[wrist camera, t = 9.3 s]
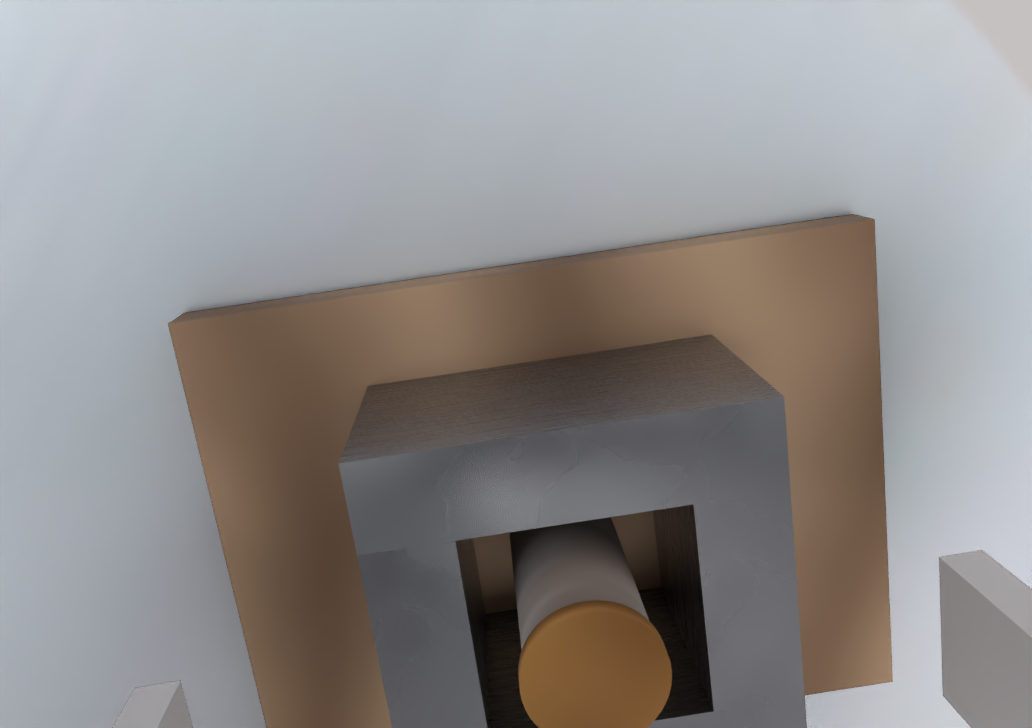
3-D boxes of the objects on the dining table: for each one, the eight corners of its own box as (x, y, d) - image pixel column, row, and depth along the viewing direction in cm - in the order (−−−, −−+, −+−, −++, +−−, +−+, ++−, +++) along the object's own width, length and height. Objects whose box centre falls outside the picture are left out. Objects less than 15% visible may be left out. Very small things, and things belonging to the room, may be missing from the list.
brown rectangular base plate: (287, 746, 25) (206, 1029, 17) (184, 313, 22) (27, 418, 14) (872, 655, 25) (1054, 893, 17) (853, 214, 22) (1064, 263, 14)
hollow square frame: (424, 687, 23) (414, 837, 18) (367, 385, 21) (338, 463, 16) (738, 640, 23) (809, 774, 18) (711, 334, 21) (784, 396, 16)
